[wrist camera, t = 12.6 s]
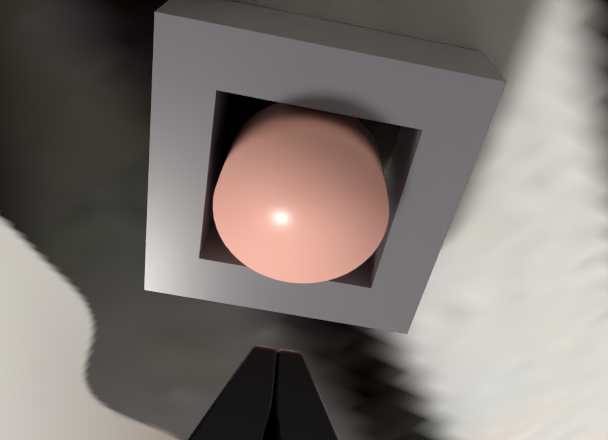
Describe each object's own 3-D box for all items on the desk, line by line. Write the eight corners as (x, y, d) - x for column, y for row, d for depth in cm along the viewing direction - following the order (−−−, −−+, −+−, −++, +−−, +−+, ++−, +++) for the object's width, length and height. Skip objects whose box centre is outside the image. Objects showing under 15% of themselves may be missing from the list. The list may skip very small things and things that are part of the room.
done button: (400, 116, 15) (410, 152, 13) (361, 248, 17) (365, 295, 15) (236, 84, 14) (222, 116, 12) (219, 223, 17) (205, 267, 15)
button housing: (481, 51, 15) (506, 81, 13) (398, 282, 19) (407, 334, 17) (181, -10, 14) (154, 11, 12) (165, 241, 18) (144, 289, 16)
